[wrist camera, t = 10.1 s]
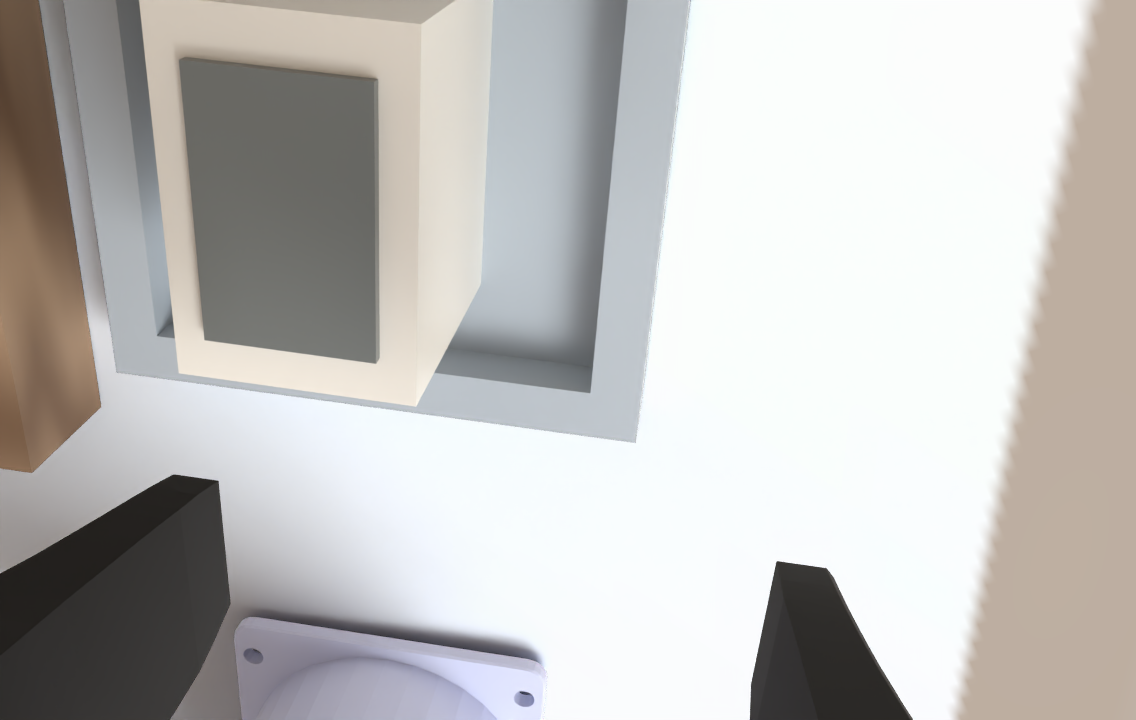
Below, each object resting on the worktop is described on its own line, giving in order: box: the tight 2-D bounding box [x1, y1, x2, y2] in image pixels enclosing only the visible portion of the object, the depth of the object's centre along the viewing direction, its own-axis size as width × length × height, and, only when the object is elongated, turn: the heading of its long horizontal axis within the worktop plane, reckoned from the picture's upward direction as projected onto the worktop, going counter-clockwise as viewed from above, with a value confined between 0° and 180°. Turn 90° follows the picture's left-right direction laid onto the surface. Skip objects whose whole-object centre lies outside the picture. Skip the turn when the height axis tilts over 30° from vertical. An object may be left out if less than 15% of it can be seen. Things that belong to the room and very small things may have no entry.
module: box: [139, 0, 493, 407], centre depth 18 cm, size 6×4×5 cm, turn 175°
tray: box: [63, 0, 691, 443], centre depth 20 cm, size 11×11×2 cm
